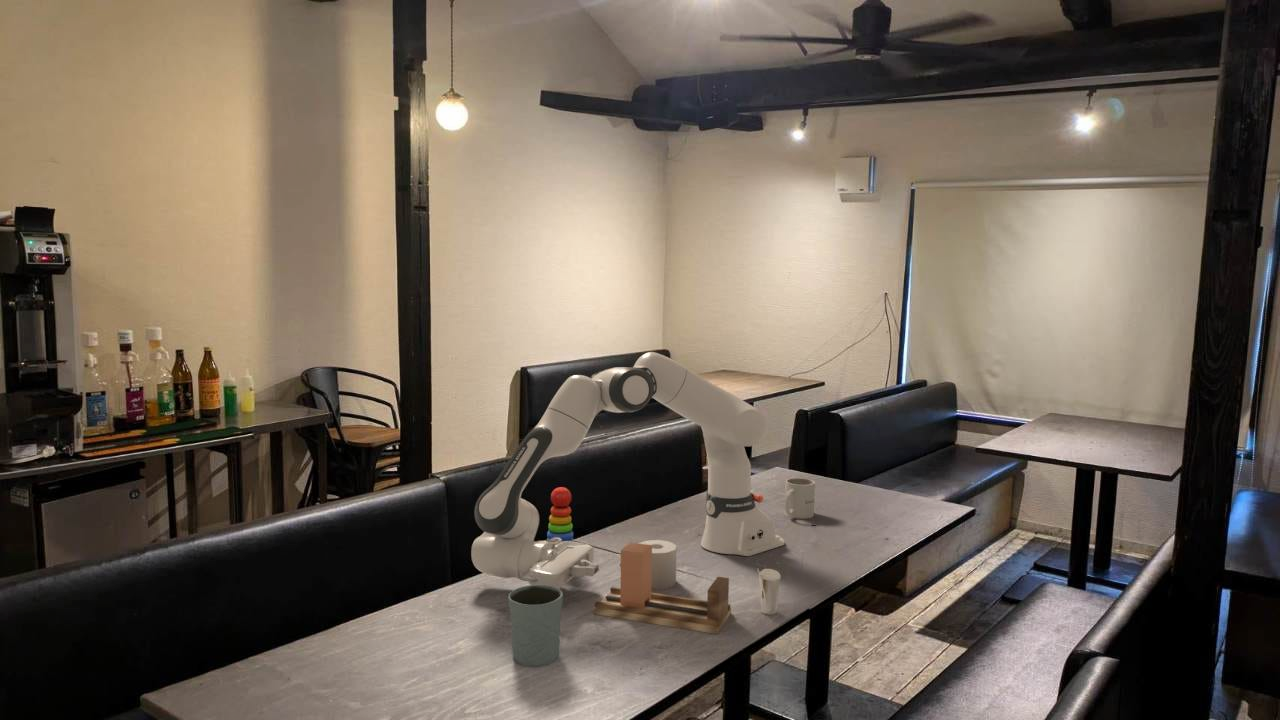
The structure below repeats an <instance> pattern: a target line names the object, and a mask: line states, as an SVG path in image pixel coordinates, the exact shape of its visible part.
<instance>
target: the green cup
mask: <svg viewBox="0 0 1280 720" xmlns="http://www.w3.org/2000/svg"><path fill="white" fill-rule="evenodd" d="M563 598H564V592H563V591H562V590H561V588H560V589H558V588H555V587H552V586H546V585H530V584H529V585H525V586H521V587H517V588H516V589H513V590H512V591H511V592H510V593H509V594H508V607H509V613H510V614H509V615H510V616H509V617H510V622H511V625H510V631H511V639H512V640H511V646H512V647H511V648H512V658H513V660H514V661H515V663H517V664H519V665H521V666H524V667H529V668H530V667H534V668H536V667H544V666H547V665H550V664H552V663H554V662H555V661H556V660H558V658H559V655H560V640H561V639H560V632H561V620H562V619H561V618H562V606H563Z"/></svg>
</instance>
